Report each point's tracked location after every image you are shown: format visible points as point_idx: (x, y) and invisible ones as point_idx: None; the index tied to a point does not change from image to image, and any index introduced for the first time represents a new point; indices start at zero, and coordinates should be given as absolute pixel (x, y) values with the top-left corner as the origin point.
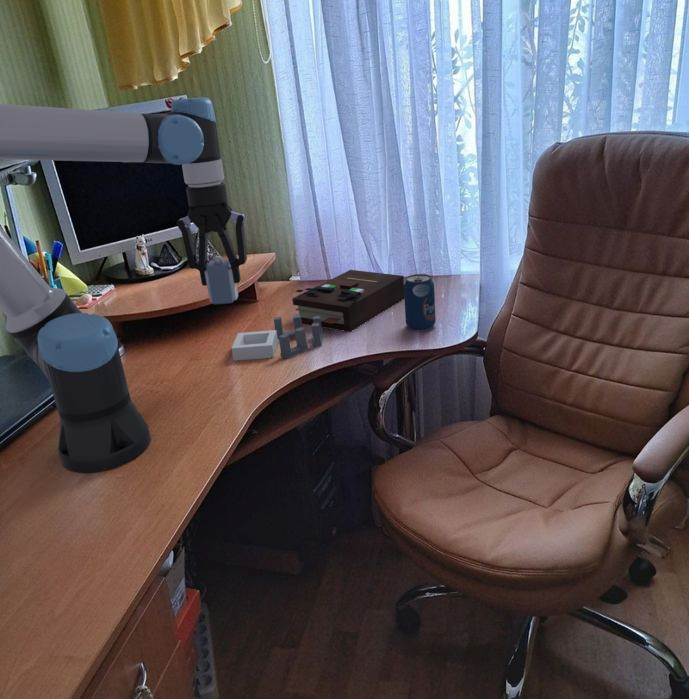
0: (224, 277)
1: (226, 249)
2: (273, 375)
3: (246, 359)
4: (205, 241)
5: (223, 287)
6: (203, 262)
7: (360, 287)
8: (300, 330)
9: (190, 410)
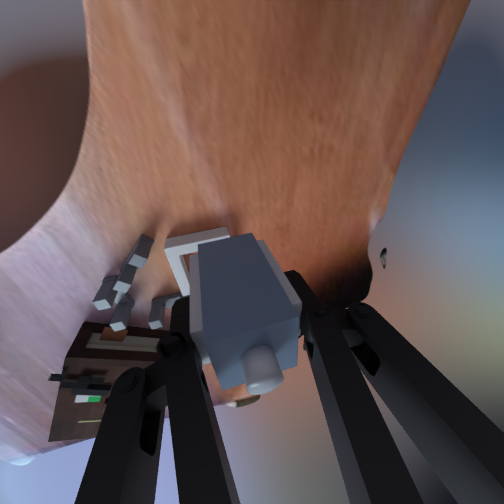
0: (216, 293)
1: (203, 449)
2: (132, 174)
3: (207, 230)
4: (365, 492)
5: (221, 267)
6: (319, 335)
7: (94, 405)
8: (117, 283)
9: (233, 11)
